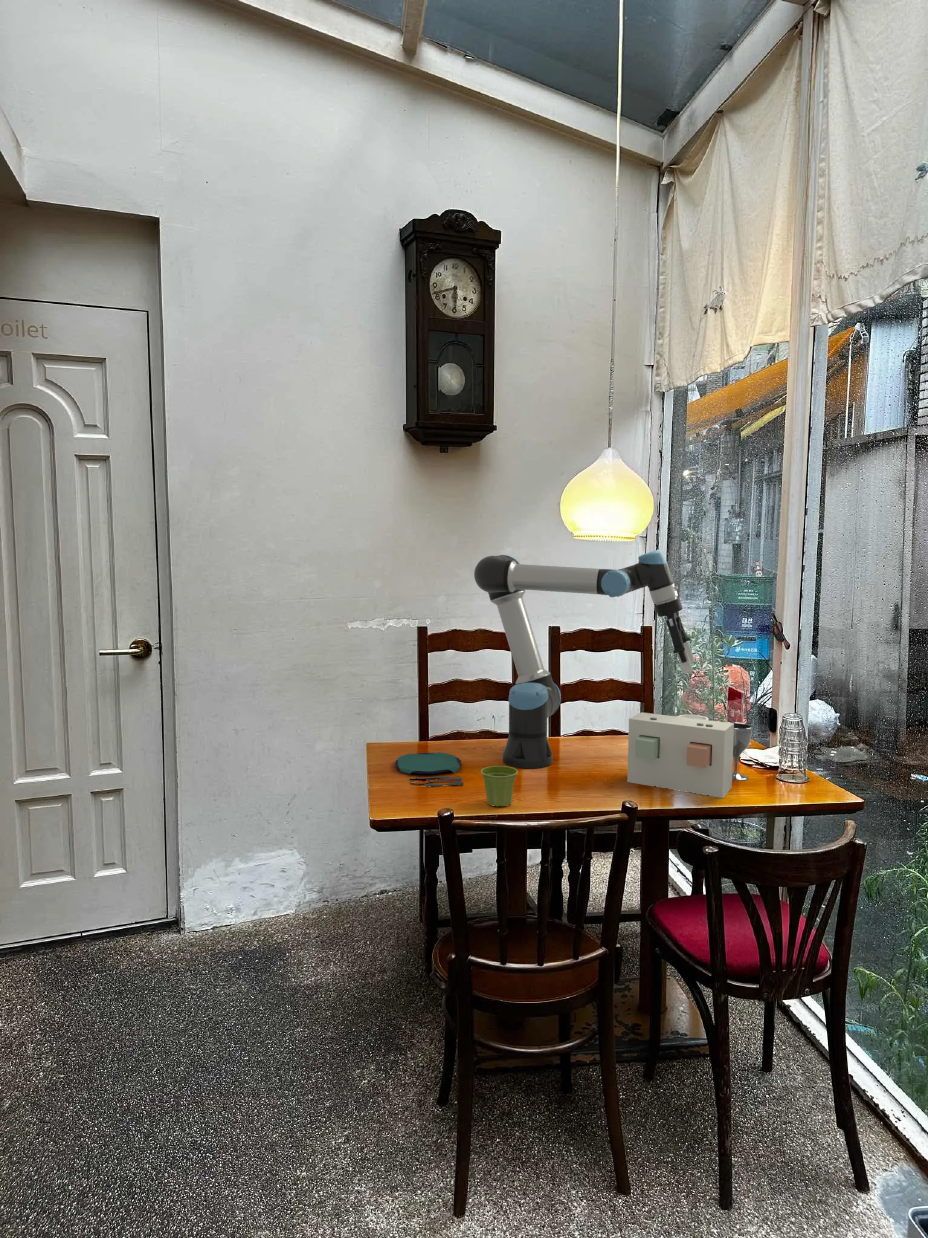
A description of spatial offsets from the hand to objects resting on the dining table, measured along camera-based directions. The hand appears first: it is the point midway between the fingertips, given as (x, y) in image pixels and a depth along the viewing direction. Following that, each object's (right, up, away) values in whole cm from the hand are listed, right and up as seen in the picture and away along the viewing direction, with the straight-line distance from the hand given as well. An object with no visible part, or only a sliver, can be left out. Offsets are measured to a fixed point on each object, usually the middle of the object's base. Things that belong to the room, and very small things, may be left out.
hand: (689, 667), depth 234 cm
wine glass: (+10, -31, -11) cm, 34 cm away
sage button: (-17, -23, -21) cm, 36 cm away
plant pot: (-59, -33, -35) cm, 76 cm away
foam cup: (+3, -29, +8) cm, 30 cm away
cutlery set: (-78, -31, -7) cm, 84 cm away
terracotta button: (-6, -24, -28) cm, 37 cm away
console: (-8, -31, -19) cm, 37 cm away
